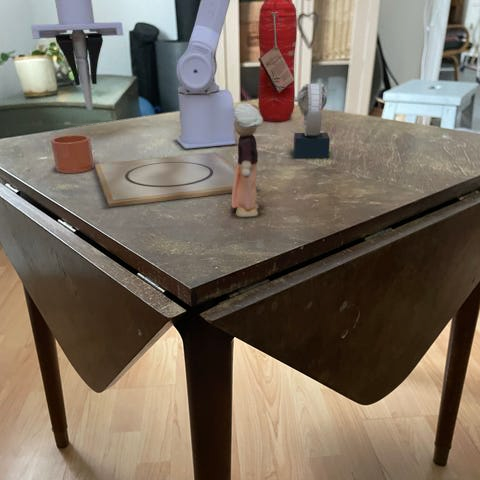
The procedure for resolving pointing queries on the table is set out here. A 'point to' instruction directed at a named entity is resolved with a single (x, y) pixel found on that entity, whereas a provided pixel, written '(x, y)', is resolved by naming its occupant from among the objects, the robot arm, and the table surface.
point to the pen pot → (72, 153)
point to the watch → (311, 123)
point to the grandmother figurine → (246, 161)
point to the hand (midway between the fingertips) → (86, 84)
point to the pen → (83, 64)
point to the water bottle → (277, 59)
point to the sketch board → (165, 178)
